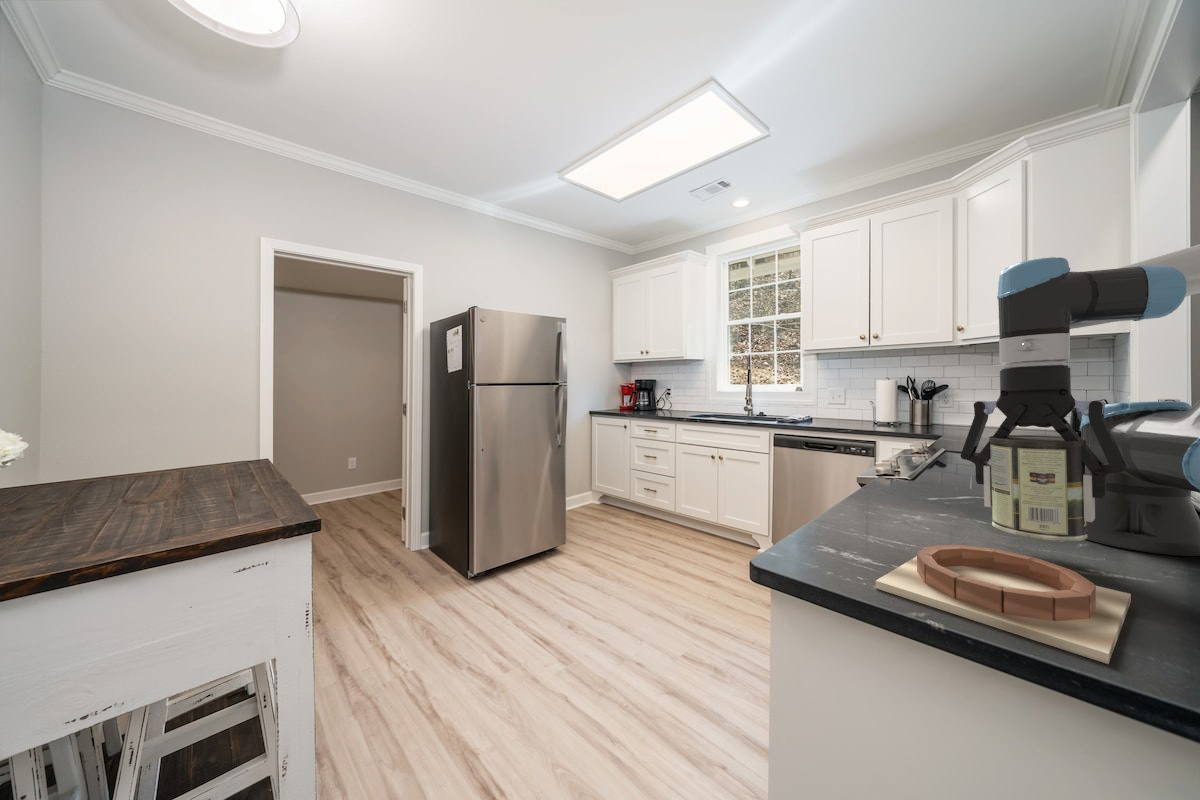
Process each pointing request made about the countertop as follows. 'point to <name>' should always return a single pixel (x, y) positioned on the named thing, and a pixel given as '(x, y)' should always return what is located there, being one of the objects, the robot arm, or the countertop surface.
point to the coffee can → (1038, 487)
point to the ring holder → (1015, 596)
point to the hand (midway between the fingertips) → (1036, 512)
